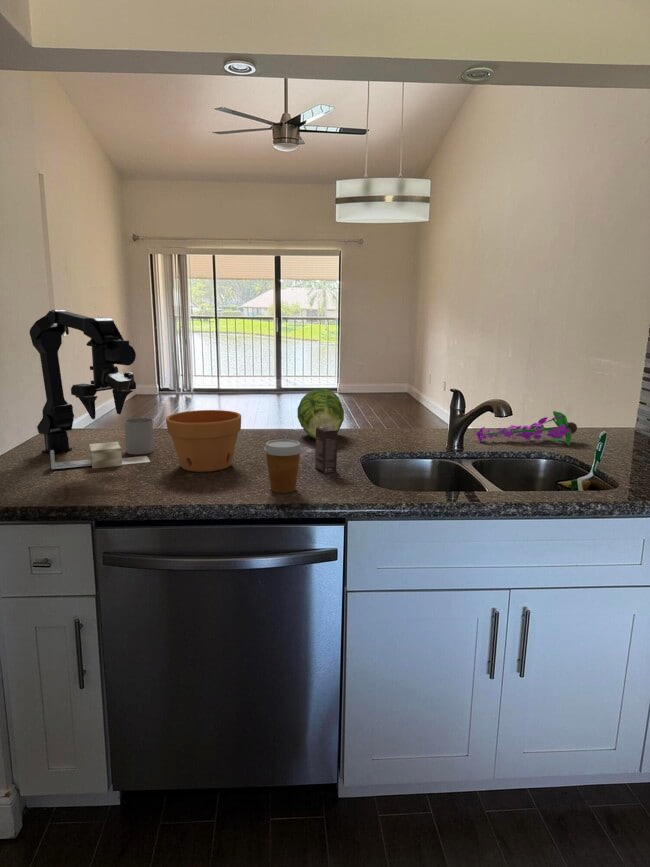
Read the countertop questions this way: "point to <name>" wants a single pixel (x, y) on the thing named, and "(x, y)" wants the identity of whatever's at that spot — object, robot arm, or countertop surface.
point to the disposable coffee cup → (283, 464)
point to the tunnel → (105, 454)
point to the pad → (135, 460)
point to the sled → (68, 464)
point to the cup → (139, 435)
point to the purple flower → (537, 429)
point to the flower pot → (204, 438)
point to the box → (326, 449)
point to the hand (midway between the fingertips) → (106, 416)
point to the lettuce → (320, 411)
